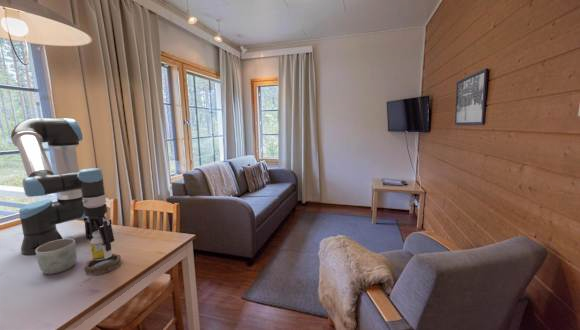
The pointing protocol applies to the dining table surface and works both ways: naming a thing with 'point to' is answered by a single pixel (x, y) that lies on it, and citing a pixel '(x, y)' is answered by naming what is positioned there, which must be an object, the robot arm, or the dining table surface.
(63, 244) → the planter
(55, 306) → the dining table surface
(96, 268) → the holder
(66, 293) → the dining table surface
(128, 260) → the dining table surface
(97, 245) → the pill bottle
